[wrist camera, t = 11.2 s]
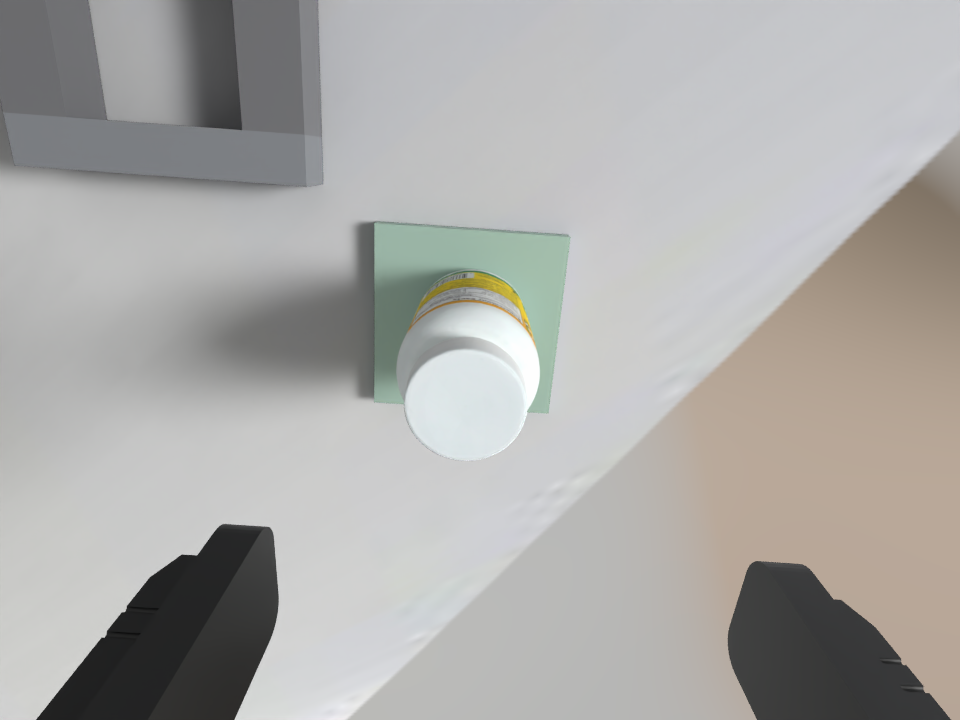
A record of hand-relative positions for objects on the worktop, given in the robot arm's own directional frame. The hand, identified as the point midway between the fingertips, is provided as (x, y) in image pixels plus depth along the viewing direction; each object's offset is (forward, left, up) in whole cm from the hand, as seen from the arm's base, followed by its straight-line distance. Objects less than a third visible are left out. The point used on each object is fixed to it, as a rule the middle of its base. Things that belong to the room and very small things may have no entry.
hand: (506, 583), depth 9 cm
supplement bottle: (+1, -1, -18) cm, 18 cm away
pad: (+1, -1, -19) cm, 19 cm away
